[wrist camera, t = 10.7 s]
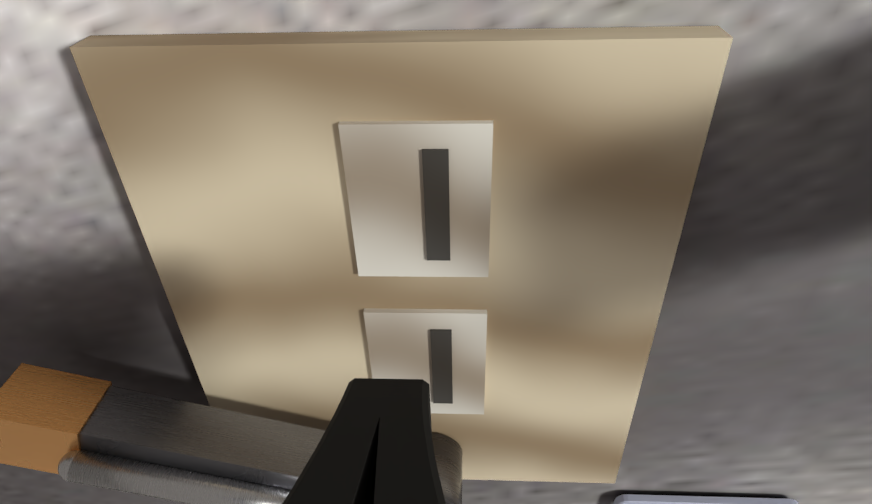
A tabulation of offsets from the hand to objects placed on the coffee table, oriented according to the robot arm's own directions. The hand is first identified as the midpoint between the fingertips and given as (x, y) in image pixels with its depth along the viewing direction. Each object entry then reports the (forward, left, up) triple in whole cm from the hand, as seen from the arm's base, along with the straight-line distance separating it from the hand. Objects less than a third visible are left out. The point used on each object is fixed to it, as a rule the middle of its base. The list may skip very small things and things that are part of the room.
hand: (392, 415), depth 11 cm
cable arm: (-9, +7, -7) cm, 14 cm away
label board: (-4, +1, -8) cm, 10 cm away
